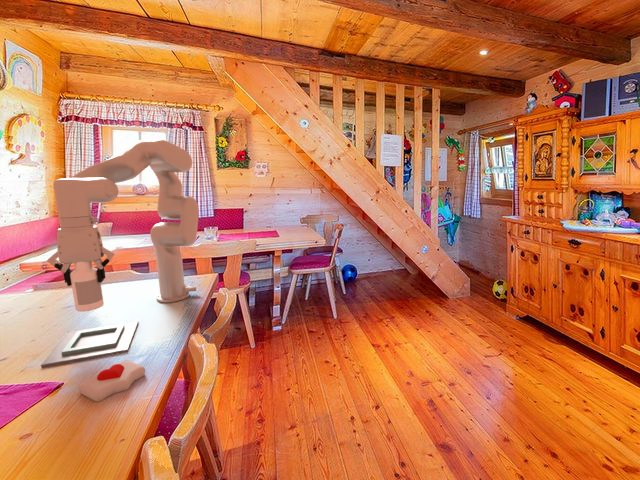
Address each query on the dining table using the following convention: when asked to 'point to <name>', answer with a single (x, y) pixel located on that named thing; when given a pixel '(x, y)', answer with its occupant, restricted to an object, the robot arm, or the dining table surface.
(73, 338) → the dock
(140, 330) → the dining table surface
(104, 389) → the icon
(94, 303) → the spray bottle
